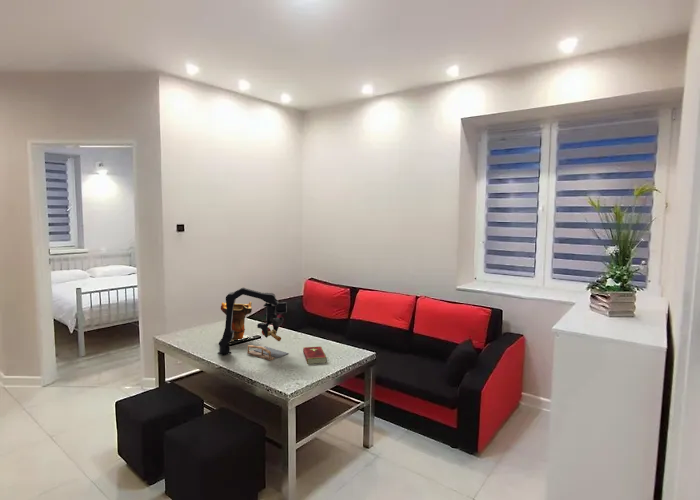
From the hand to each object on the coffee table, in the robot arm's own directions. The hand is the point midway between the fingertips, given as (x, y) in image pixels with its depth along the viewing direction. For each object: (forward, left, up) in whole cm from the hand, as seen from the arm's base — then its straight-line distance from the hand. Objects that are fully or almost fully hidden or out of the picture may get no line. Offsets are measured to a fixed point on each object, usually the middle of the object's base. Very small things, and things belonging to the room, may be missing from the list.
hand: (270, 336), depth 266 cm
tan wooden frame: (0, -9, -11) cm, 14 cm away
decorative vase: (-42, +6, -11) cm, 44 cm away
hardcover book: (+28, +11, -12) cm, 32 cm away
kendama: (+1, 0, -1) cm, 2 cm away
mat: (0, 0, -11) cm, 11 cm away
